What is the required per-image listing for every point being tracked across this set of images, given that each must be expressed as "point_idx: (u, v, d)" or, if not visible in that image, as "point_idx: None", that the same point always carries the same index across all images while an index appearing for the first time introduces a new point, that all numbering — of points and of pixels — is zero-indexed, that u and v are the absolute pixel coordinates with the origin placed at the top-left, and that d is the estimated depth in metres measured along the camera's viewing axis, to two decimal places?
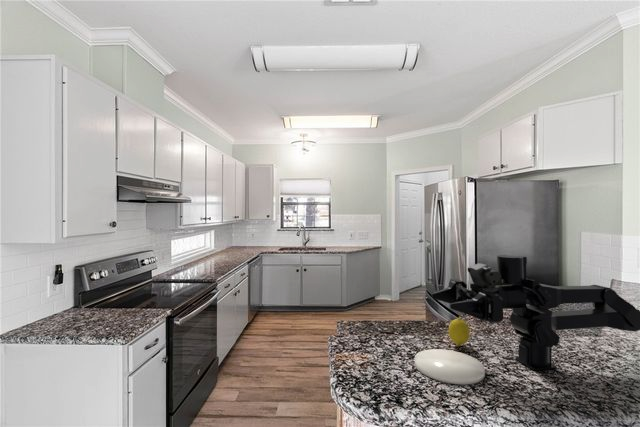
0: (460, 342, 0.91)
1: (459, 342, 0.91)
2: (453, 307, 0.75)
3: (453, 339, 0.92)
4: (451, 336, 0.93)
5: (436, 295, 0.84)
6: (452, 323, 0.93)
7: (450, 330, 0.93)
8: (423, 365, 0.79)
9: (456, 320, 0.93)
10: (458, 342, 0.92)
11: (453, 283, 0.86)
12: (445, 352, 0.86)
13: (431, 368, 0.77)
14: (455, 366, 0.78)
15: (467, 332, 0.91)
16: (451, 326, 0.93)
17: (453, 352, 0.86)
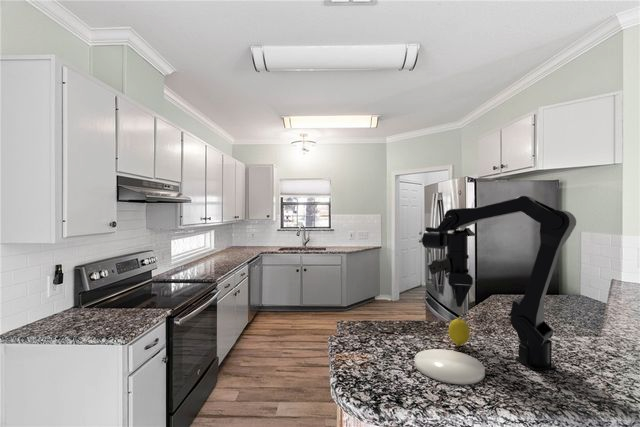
0: (460, 342, 0.91)
1: (459, 342, 0.91)
2: (459, 305, 0.93)
3: (453, 339, 0.92)
4: (451, 336, 0.93)
5: (455, 295, 1.02)
6: (452, 323, 0.93)
7: (450, 330, 0.93)
8: (423, 365, 0.79)
9: (456, 320, 0.93)
10: (458, 342, 0.92)
11: (446, 277, 1.04)
12: (445, 352, 0.86)
13: (431, 368, 0.77)
14: (455, 366, 0.78)
15: (467, 332, 0.91)
16: (451, 326, 0.93)
17: (453, 352, 0.86)
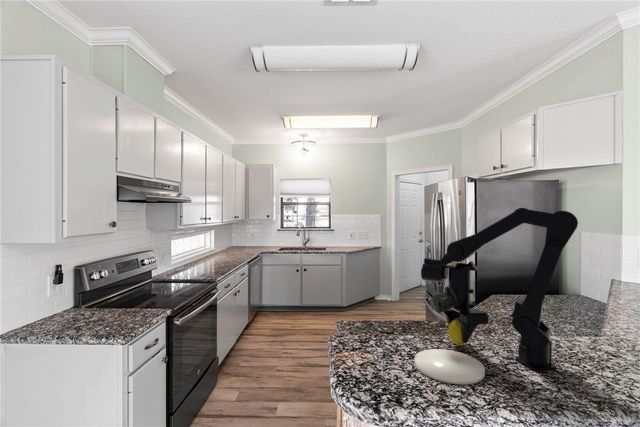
0: (460, 342, 0.91)
1: (459, 342, 0.91)
2: (466, 341, 0.90)
3: (453, 339, 0.92)
4: (451, 336, 0.93)
5: None
6: (452, 323, 0.93)
7: (450, 330, 0.93)
8: (423, 365, 0.79)
9: (456, 320, 0.93)
10: (458, 342, 0.92)
11: (443, 312, 0.97)
12: (445, 352, 0.86)
13: (431, 368, 0.77)
14: (455, 366, 0.78)
15: None
16: (451, 326, 0.93)
17: (453, 352, 0.86)
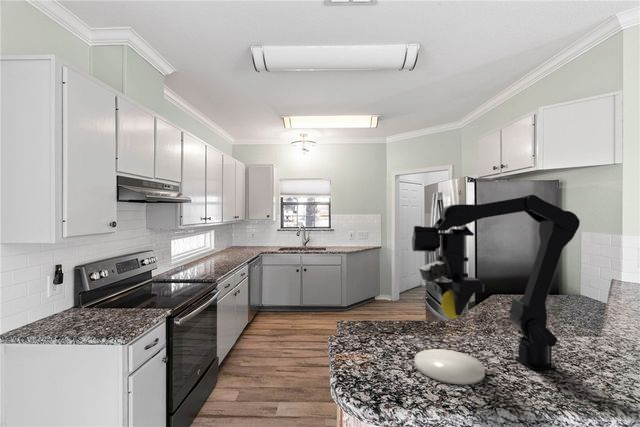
0: (453, 315, 0.84)
1: (452, 315, 0.84)
2: (459, 313, 0.82)
3: (445, 312, 0.85)
4: (443, 308, 0.85)
5: None
6: (445, 294, 0.86)
7: (442, 302, 0.85)
8: (423, 365, 0.79)
9: (449, 291, 0.85)
10: (451, 315, 0.84)
11: (436, 284, 0.89)
12: (445, 352, 0.86)
13: (431, 368, 0.77)
14: (455, 366, 0.78)
15: None
16: (443, 298, 0.85)
17: (453, 352, 0.86)
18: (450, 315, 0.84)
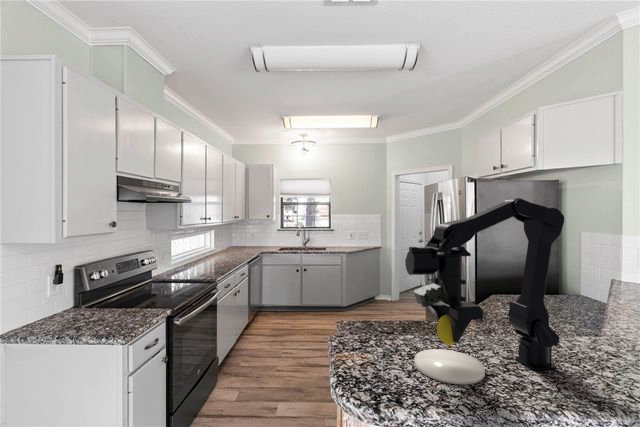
0: (450, 341, 0.78)
1: (449, 341, 0.78)
2: (457, 340, 0.77)
3: (442, 338, 0.79)
4: (440, 335, 0.79)
5: None
6: (441, 319, 0.80)
7: (439, 328, 0.80)
8: (423, 365, 0.79)
9: (446, 316, 0.80)
10: (448, 341, 0.78)
11: (431, 307, 0.84)
12: (445, 352, 0.86)
13: (431, 368, 0.77)
14: (455, 366, 0.78)
15: None
16: (440, 323, 0.80)
17: (453, 352, 0.86)
18: (447, 342, 0.79)
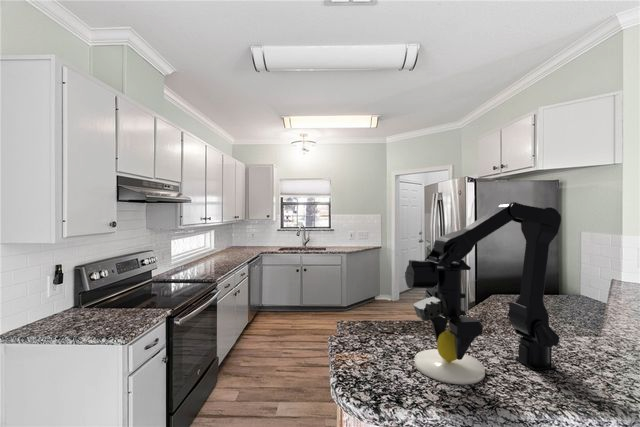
0: (450, 358, 0.78)
1: (449, 358, 0.78)
2: (461, 357, 0.75)
3: (442, 355, 0.79)
4: (440, 351, 0.79)
5: None
6: (441, 336, 0.80)
7: (439, 344, 0.80)
8: (423, 365, 0.79)
9: (446, 332, 0.80)
10: (448, 358, 0.78)
11: None
12: None
13: (431, 368, 0.77)
14: (455, 366, 0.78)
15: None
16: (440, 339, 0.80)
17: None
18: (447, 359, 0.78)
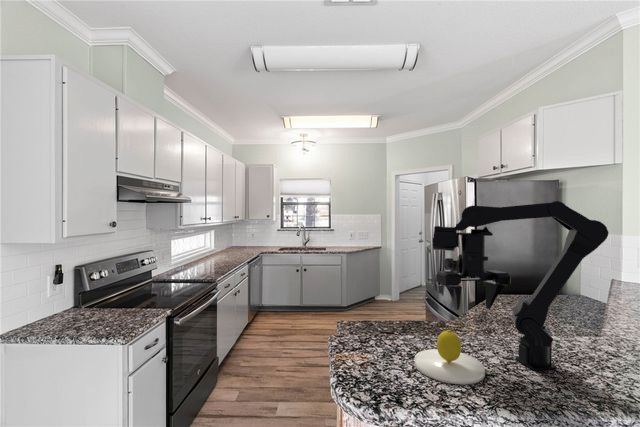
0: (450, 358, 0.78)
1: (449, 358, 0.78)
2: (456, 308, 0.88)
3: (442, 355, 0.79)
4: (440, 351, 0.79)
5: (487, 304, 0.89)
6: (441, 336, 0.80)
7: (438, 344, 0.80)
8: (423, 365, 0.79)
9: (446, 332, 0.80)
10: (448, 358, 0.78)
11: None
12: None
13: (431, 368, 0.77)
14: (455, 366, 0.78)
15: (458, 347, 0.78)
16: (440, 339, 0.80)
17: None
18: (447, 359, 0.78)
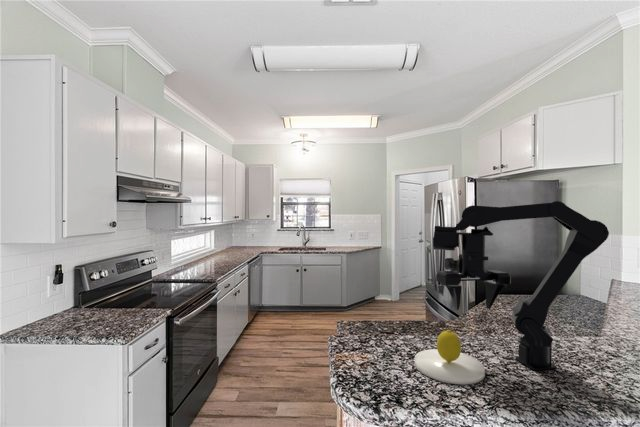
0: (450, 358, 0.78)
1: (449, 358, 0.78)
2: (456, 307, 0.88)
3: (442, 355, 0.79)
4: (440, 351, 0.79)
5: (487, 304, 0.89)
6: (441, 336, 0.80)
7: (438, 344, 0.80)
8: (423, 365, 0.79)
9: (445, 332, 0.80)
10: (448, 358, 0.78)
11: None
12: None
13: (431, 368, 0.77)
14: (455, 366, 0.78)
15: (458, 347, 0.78)
16: (440, 339, 0.80)
17: None
18: (447, 359, 0.78)
